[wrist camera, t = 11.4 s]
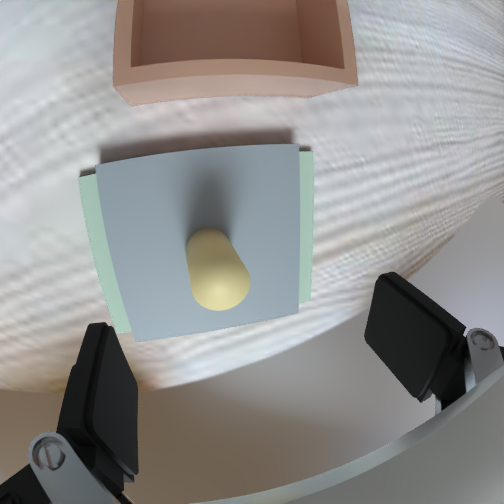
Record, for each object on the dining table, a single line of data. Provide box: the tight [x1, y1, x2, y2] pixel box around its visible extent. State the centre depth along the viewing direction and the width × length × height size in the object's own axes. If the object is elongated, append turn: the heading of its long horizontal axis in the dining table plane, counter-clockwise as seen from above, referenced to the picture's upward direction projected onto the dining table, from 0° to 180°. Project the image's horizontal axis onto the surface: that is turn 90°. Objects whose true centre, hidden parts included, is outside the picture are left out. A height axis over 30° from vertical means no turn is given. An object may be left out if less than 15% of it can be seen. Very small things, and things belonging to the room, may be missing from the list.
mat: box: [78, 151, 314, 333], centre depth 19 cm, size 16×12×1 cm
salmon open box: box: [113, 0, 358, 106], centre depth 11 cm, size 12×12×6 cm
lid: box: [95, 144, 300, 342], centre depth 16 cm, size 13×13×6 cm
